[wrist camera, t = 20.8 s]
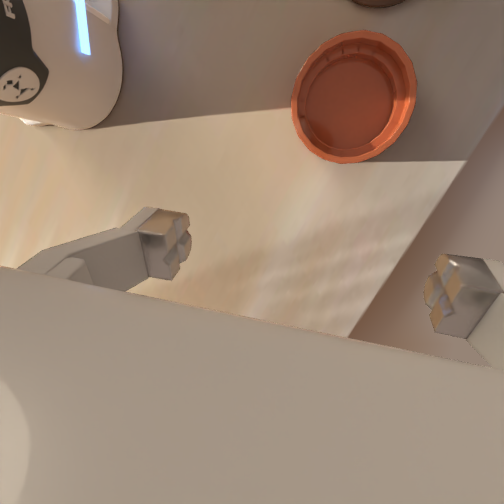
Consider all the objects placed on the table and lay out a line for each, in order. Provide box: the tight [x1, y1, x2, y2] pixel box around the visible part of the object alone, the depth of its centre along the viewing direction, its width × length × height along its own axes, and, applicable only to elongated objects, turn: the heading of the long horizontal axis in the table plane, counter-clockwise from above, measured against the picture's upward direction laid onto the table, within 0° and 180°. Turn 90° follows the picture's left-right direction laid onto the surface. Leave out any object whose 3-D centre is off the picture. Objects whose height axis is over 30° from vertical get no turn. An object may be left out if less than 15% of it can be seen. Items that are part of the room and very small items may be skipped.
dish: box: [291, 30, 417, 164], centre depth 30 cm, size 11×11×3 cm
